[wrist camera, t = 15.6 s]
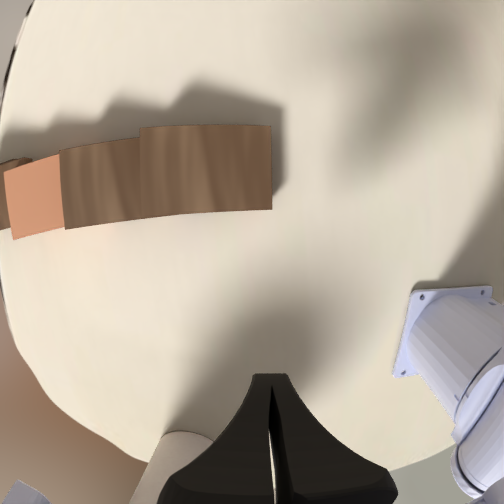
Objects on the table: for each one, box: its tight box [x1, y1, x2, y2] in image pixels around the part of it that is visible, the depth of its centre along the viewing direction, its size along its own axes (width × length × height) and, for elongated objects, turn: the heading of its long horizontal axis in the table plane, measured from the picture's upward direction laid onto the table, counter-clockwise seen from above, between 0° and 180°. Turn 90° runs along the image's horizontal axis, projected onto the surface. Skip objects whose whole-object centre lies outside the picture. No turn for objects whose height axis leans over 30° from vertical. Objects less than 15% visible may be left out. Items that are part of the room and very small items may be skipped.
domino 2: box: [59, 137, 179, 230], centre depth 17 cm, size 2×5×8 cm
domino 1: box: [140, 125, 272, 217], centre depth 17 cm, size 2×5×8 cm
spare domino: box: [4, 154, 65, 240], centre depth 17 cm, size 2×5×8 cm
